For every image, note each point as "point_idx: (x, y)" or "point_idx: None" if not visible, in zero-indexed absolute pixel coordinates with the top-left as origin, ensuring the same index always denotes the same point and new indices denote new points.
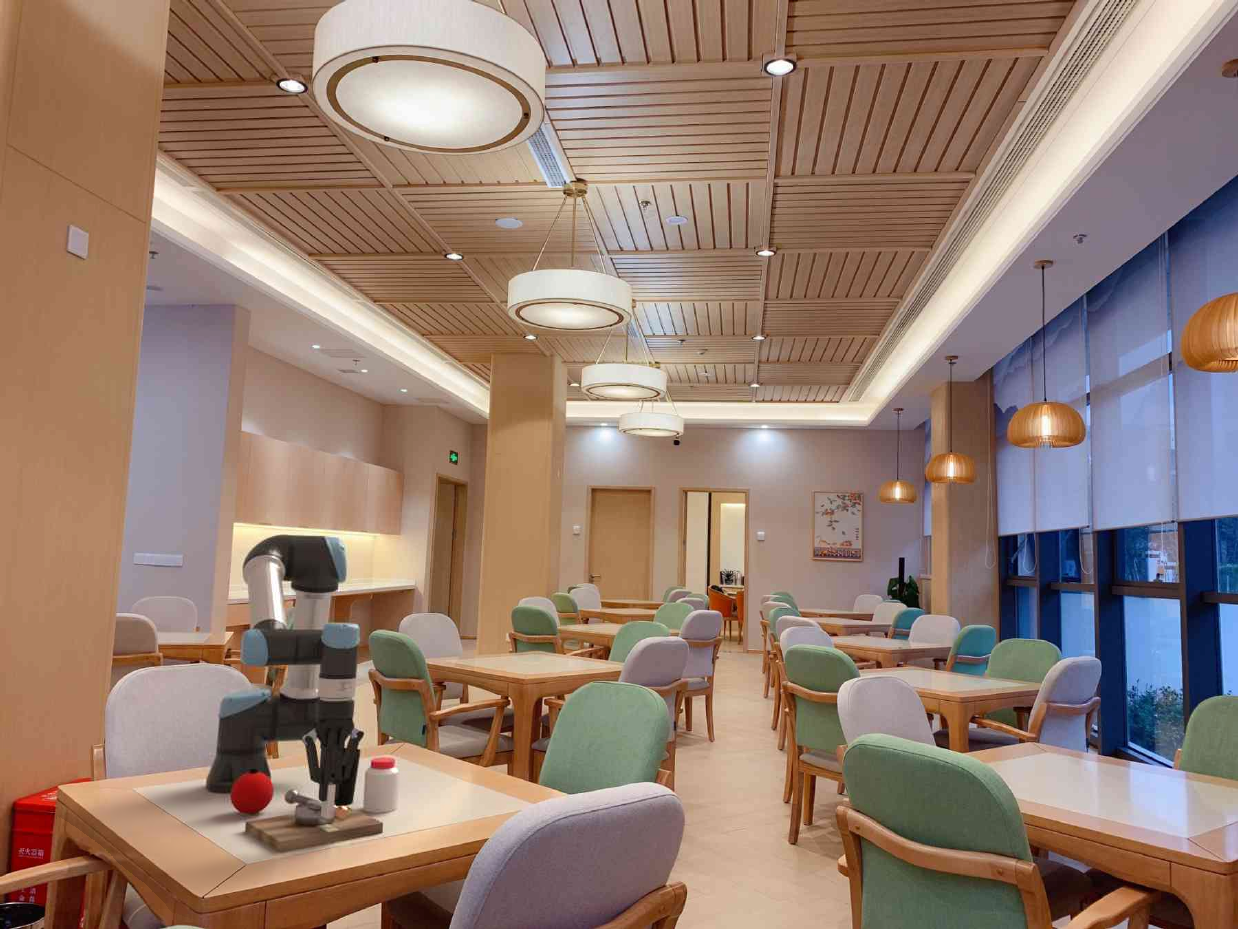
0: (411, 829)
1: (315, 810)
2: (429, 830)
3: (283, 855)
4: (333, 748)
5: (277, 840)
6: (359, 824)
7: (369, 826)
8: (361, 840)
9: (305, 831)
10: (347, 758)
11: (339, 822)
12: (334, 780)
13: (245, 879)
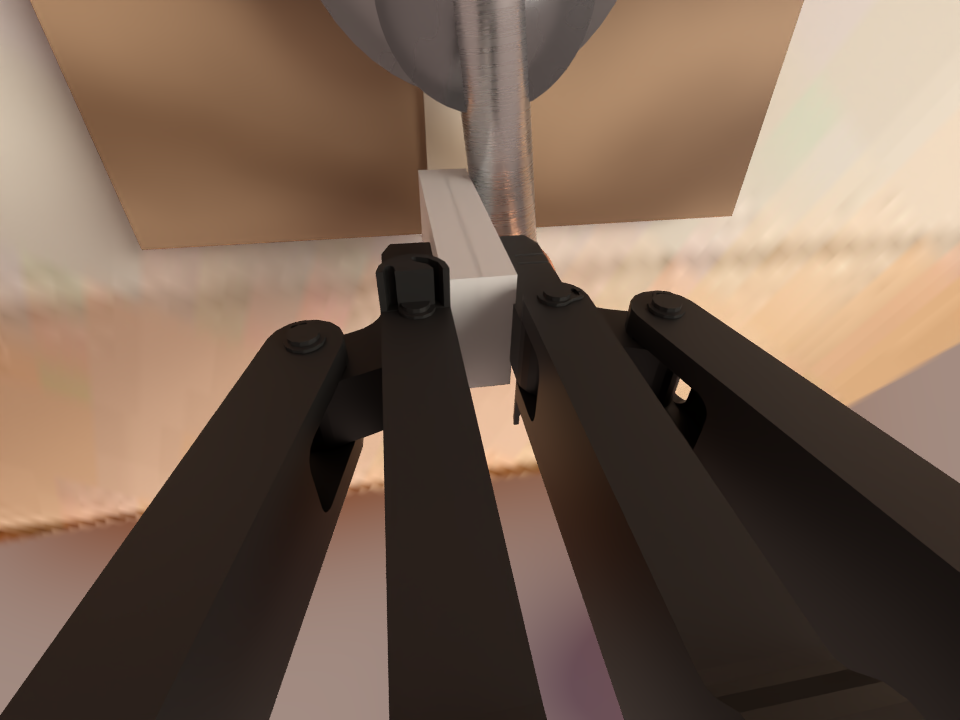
0: (818, 219)
1: (407, 78)
2: (839, 272)
3: (181, 278)
4: (695, 713)
5: (126, 214)
6: (634, 178)
7: (657, 217)
8: (568, 253)
9: (320, 135)
10: (764, 540)
11: (581, 54)
12: (516, 388)
13: (19, 460)
